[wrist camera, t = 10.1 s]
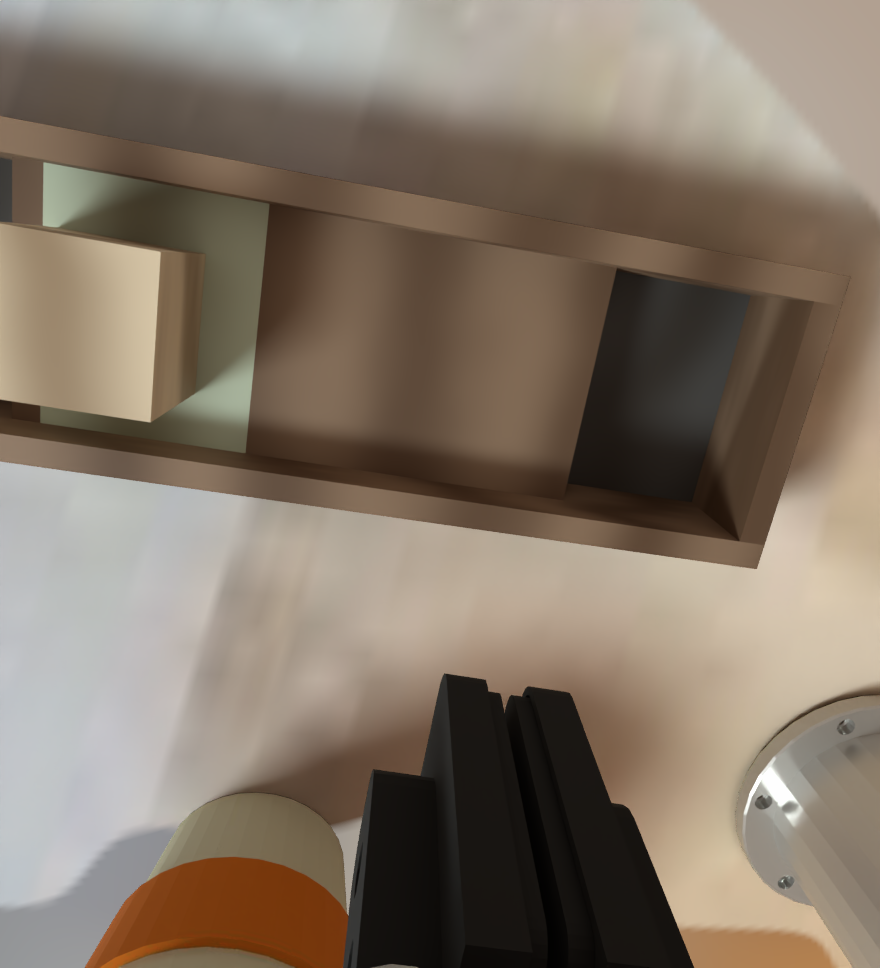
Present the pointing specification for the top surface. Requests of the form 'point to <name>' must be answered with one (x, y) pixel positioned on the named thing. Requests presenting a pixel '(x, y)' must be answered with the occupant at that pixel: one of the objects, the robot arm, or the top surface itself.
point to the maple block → (97, 322)
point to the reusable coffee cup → (237, 893)
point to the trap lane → (440, 355)
